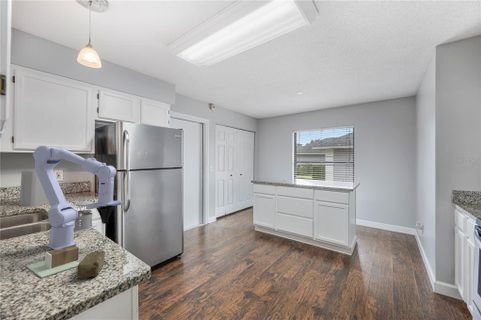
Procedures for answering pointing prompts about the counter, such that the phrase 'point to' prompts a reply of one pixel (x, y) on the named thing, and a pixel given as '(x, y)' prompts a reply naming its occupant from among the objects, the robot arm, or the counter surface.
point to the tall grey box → (31, 190)
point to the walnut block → (61, 256)
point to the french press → (83, 216)
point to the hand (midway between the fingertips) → (104, 223)
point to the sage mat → (44, 271)
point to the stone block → (90, 265)
